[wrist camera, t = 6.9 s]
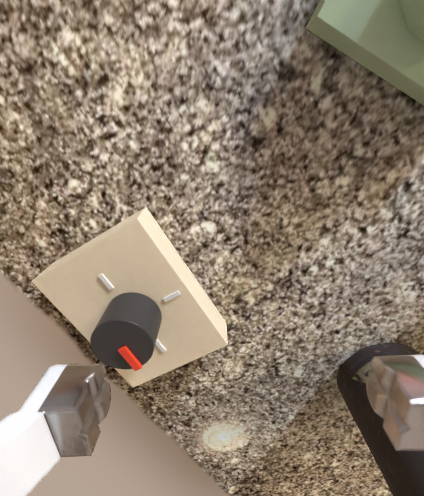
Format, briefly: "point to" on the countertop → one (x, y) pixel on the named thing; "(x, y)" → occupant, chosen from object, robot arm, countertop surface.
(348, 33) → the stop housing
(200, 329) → the panel
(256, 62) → the countertop surface
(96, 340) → the timer knob
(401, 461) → the container
